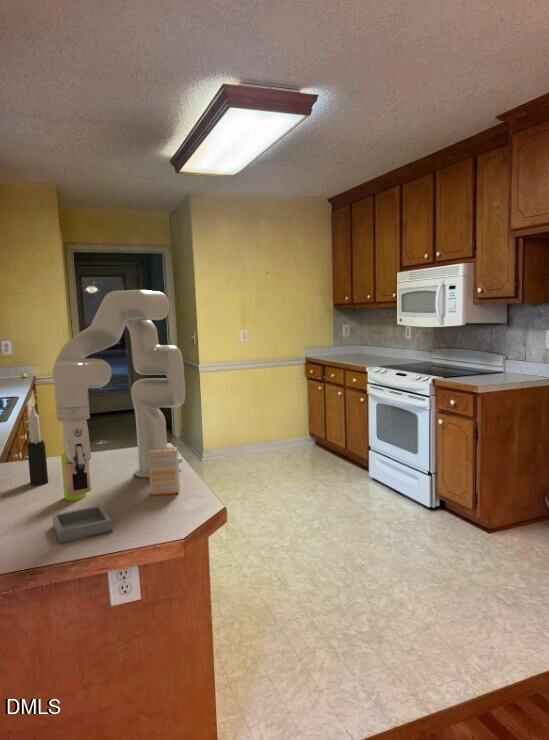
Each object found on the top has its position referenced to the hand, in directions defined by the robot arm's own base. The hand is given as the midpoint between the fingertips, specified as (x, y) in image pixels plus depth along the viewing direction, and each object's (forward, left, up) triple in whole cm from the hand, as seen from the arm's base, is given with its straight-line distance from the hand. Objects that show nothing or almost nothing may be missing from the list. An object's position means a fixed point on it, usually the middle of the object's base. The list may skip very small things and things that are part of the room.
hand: (78, 484), depth 127 cm
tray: (0, 0, -11) cm, 11 cm away
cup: (0, 0, -1) cm, 1 cm away
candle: (+5, -47, -12) cm, 49 cm away
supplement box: (-26, -14, -12) cm, 32 cm away
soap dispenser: (-3, -26, -12) cm, 29 cm away
